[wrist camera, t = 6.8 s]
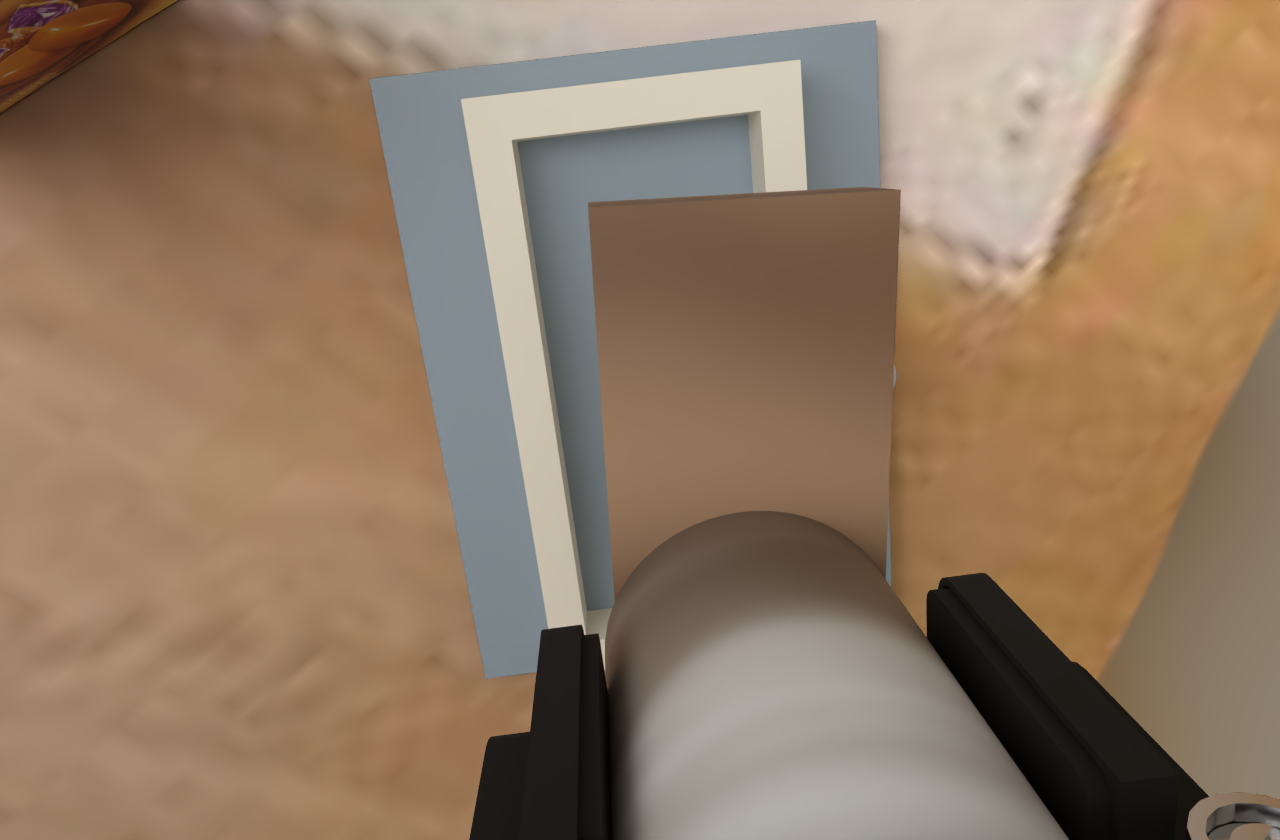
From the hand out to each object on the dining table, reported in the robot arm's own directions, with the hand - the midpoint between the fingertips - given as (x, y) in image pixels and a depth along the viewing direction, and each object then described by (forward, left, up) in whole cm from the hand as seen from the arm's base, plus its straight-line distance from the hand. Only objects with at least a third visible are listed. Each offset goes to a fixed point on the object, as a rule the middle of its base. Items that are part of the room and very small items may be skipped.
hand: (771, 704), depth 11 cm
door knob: (0, 0, -3) cm, 3 cm away
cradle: (0, 0, -18) cm, 18 cm away
